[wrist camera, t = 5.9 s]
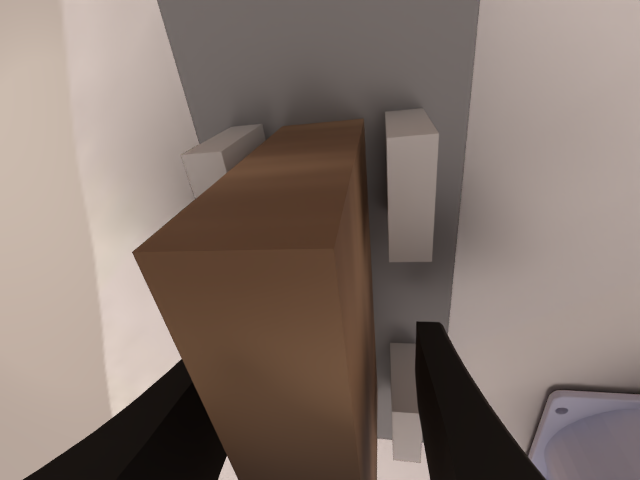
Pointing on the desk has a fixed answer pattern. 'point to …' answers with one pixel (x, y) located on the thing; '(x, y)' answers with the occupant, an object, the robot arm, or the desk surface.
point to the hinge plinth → (380, 137)
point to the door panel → (279, 305)
